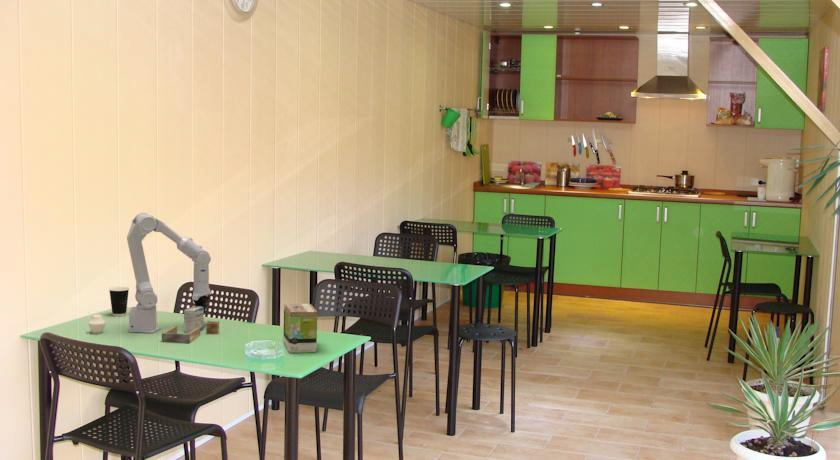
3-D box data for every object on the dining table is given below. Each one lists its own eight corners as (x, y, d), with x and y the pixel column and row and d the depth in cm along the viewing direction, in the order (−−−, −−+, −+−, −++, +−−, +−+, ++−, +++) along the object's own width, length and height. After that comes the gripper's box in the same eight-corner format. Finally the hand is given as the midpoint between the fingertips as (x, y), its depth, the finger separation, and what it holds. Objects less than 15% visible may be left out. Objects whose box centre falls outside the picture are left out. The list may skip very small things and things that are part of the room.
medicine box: (194, 333, 339) (194, 310, 338) (183, 332, 340) (183, 309, 339) (203, 328, 347) (203, 306, 346) (193, 328, 348) (193, 305, 347)
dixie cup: (128, 317, 363) (128, 290, 362) (107, 317, 362) (107, 290, 360) (130, 313, 371) (130, 286, 370) (110, 313, 369) (109, 286, 368)
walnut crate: (206, 334, 339) (206, 323, 338) (208, 331, 343) (208, 321, 342) (217, 334, 339) (217, 323, 339) (218, 331, 343) (218, 321, 343)
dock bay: (161, 341, 325) (161, 333, 325) (174, 334, 337) (174, 326, 337) (188, 343, 324) (188, 334, 324) (200, 335, 336) (200, 327, 336)
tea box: (317, 352, 317) (318, 310, 315) (288, 353, 314) (289, 311, 312) (310, 342, 331) (310, 302, 329) (282, 343, 328) (283, 303, 326)
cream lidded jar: (84, 333, 335) (84, 314, 334) (97, 329, 340) (97, 311, 339) (96, 335, 332) (96, 316, 331) (109, 332, 337) (109, 313, 337)
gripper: (204, 284, 342) (205, 319, 344) (217, 277, 356) (217, 311, 358) (186, 283, 343) (187, 318, 344) (200, 277, 357) (200, 310, 359)
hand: (201, 315), depth 351 cm, fingers closed
